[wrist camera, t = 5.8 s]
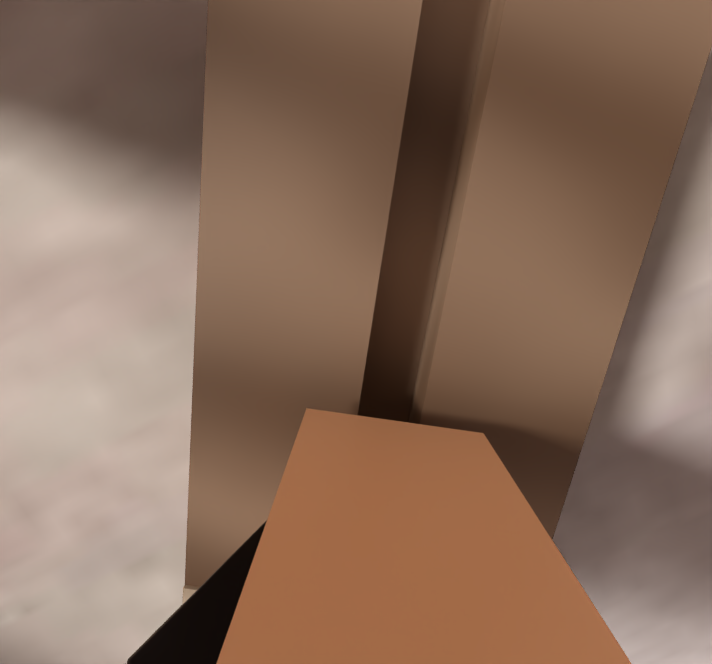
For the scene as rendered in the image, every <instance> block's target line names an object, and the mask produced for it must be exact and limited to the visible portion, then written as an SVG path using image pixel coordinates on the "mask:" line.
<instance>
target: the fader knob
mask: <svg viewBox="0 0 712 664" xmlns="http://www.w3.org/2000/svg"><path fill="white" fill-rule="evenodd" d="M216 664H631V662H630V661H629V659H628V658H627V656H626V655H625V653H624V651H623V650H622V648H621V647H620V645H619V644H618V642H617V640H616V639H615V637H614V636H613V634H612V633H611V631H610V630H609V628H608V626H607V625H606V623H605V622H604V620H603V619H602V617H601V616H600V614H599V612H598V611H597V609H596V608H595V606H594V605H593V603H592V602H591V600H590V598H589V597H588V595H587V594H586V592H585V591H584V589H583V588H582V586H581V584H580V583H579V581H578V580H577V578H576V577H575V575H574V573H573V572H572V570H571V569H570V567H569V566H568V564H567V563H566V561H565V559H564V558H563V556H562V555H561V553H560V552H559V550H558V549H557V547H556V545H555V544H554V542H553V541H552V539H551V538H550V536H549V535H548V533H547V531H546V530H545V528H544V527H543V525H542V524H541V522H540V521H539V519H538V517H537V516H536V514H535V513H534V511H533V510H532V508H531V506H530V505H529V503H528V502H527V500H526V499H525V497H524V496H523V494H522V492H521V491H520V489H519V488H518V486H517V485H516V483H515V482H514V480H513V478H512V477H511V475H510V474H509V472H508V471H507V469H506V468H505V466H504V464H503V463H502V461H501V460H500V458H499V457H498V455H497V454H496V452H495V450H494V449H493V447H492V446H491V444H490V443H489V441H488V439H487V438H486V436H485V435H484V433H479V432H472V431H465V430H457V429H450V428H443V427H436V426H429V425H422V424H415V423H408V422H401V421H394V420H387V419H379V418H372V417H365V416H358V415H351V414H344V413H337V412H330V411H323V410H316V409H309V408H306V411H305V414H304V417H303V420H302V423H301V425H300V428H299V431H298V434H297V437H296V440H295V442H294V445H293V448H292V451H291V454H290V457H289V459H288V462H287V465H286V468H285V471H284V474H283V476H282V479H281V482H280V485H279V488H278V491H277V493H276V496H275V499H274V502H273V505H272V508H271V510H270V513H269V516H268V519H267V522H266V525H265V527H264V530H263V533H262V536H261V539H260V542H259V544H258V547H257V550H256V553H255V556H254V559H253V561H252V564H251V567H250V570H249V573H248V576H247V578H246V581H245V584H244V587H243V590H242V593H241V595H240V598H239V601H238V604H237V607H236V610H235V612H234V615H233V618H232V621H231V624H230V627H229V629H228V632H227V635H226V638H225V641H224V644H223V646H222V649H221V652H220V655H219V658H218V661H217V663H216Z"/></svg>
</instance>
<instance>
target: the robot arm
mask: <svg viewBox="0 0 712 664" xmlns="http://www.w3.org/2000/svg"><path fill="white" fill-rule="evenodd" d="M266 522H267V520H266V521H265V522H264V523H263V524H262V525H261V526H260V527H259V528H258V529H257V530H256V531H255V532H254V533H253V534H252V535H251V536H250V537H249V538H248V539H247V540H246V541H245V542H244V543H243V544H242V545H241V546H240V547H239V548H238V549H237V550H236V551H235V552H234V553H233V554H232V555H231V556H230V557H229V558H228V559H227V560H226V561H225V562H224V563H223V564H222V565H221V566H220V567H219V568H218V569H217V570H216V571H215V572H214V573H213V574H212V575H211V576H210V577H209V578H208V579H207V580H206V581H205V582H204V583H203V584H202V585H201V586H200V587H199V588H198V589H197V590H196V591H195V592H194V594H193V595H192V596H191V597H190V598H189V599H188V600H187V601H186V602H185V603H184V604H183V605H182V606H181V607H180V608H179V609H178V610H177V611H176V612H175V613H174V614H173V615H172V616H171V617H170V618H169V619H168V620H167V621H166V622H165V623H164V624H163V625H162V626H161V627H160V628H159V629H158V630H157V631H156V632H155V633H154V634H153V635H152V636H151V637H150V638H149V639H148V640H147V641H146V642H145V643H144V644H143V645H142V646H141V647H140V648H139V649H138V650H137V651H136V652H135V653H134V654H133V655H132V656H131V657H130V658H129V659H128V661H127V664H216V663H217V661H218V658H219V655H220V652H221V649H222V646H223V644H224V641H225V638H226V635H227V632H228V629H229V627H230V624H231V621H232V618H233V615H234V612H235V610H236V607H237V604H238V601H239V598H240V595H241V593H242V590H243V587H244V584H245V581H246V578H247V576H248V573H249V570H250V567H251V564H252V561H253V559H254V556H255V553H256V550H257V547H258V544H259V542H260V539H261V536H262V533H263V530H264V527H265V525H266Z"/></svg>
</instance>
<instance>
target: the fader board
mask: <svg viewBox="0 0 712 664" xmlns="http://www.w3.org/2000/svg"><path fill="white" fill-rule="evenodd" d="M711 47H712V0H208V11H207V37H206V62H205V87H204V113H203V138H202V163H201V189H200V214H199V239H198V265H197V290H196V315H195V341H194V366H193V392H192V417H191V442H190V468H189V493H188V518H187V544H186V569H185V586H184V588H183V604H184V603H185V602H186V601H187V600H188V599H189V598H190V597H191V596H192V595H193V594H194V592H195V591H196V590H197V589H198V588H199V587H200V586H201V585H202V584H203V583H204V582H205V581H206V580H207V579H208V578H209V577H210V576H211V575H212V574H213V573H214V572H215V571H216V570H217V569H218V568H219V567H220V566H221V565H222V564H223V563H224V562H225V561H226V560H227V559H228V558H229V557H230V556H231V555H232V554H233V553H234V552H235V551H236V550H237V549H238V548H239V547H240V546H241V545H242V544H243V543H244V542H245V541H246V540H247V539H248V538H249V537H250V536H251V535H252V534H253V533H254V532H255V531H256V530H257V529H258V528H259V527H260V526H261V525H262V524H263V523H264V522H265V521H266V520H267V519H268V516H269V513H270V510H271V508H272V505H273V502H274V499H275V496H276V493H277V491H278V488H279V485H280V482H281V479H282V476H283V474H284V471H285V468H286V465H287V462H288V459H289V457H290V454H291V451H292V448H293V445H294V442H295V440H296V437H297V434H298V431H299V428H300V425H301V423H302V420H303V417H304V414H305V411H306V408H309V409H316V410H323V411H330V412H337V413H344V414H351V415H358V416H365V417H372V418H379V419H387V420H394V421H401V422H408V423H415V424H422V425H429V426H436V427H443V428H450V429H457V430H465V431H472V432H479V433H484V435H485V436H486V438H487V439H488V441H489V443H490V444H491V446H492V447H493V449H494V450H495V452H496V454H497V455H498V457H499V458H500V460H501V461H502V463H503V464H504V466H505V468H506V469H507V471H508V472H509V474H510V475H511V477H512V478H513V480H514V482H515V483H516V485H517V486H518V488H519V489H520V491H521V492H522V494H523V496H524V497H525V499H526V500H527V502H528V503H529V505H530V506H531V508H532V510H533V511H534V513H535V514H536V516H537V517H538V519H539V521H540V522H541V524H542V525H543V527H544V528H545V530H546V531H547V533H548V535H549V536H550V538H551V539H553V536H554V532H555V529H556V526H557V523H558V520H559V517H560V514H561V511H562V508H563V505H564V502H565V498H566V495H567V492H568V489H569V486H570V483H571V480H572V477H573V474H574V471H575V468H576V464H577V461H578V458H579V455H580V452H581V449H582V446H583V443H584V440H585V437H586V434H587V430H588V427H589V424H590V421H591V418H592V415H593V412H594V409H595V406H596V403H597V400H598V396H599V393H600V390H601V387H602V384H603V381H604V378H605V375H606V372H607V369H608V366H609V362H610V359H611V356H612V353H613V350H614V347H615V344H616V341H617V338H618V335H619V331H620V328H621V325H622V322H623V319H624V316H625V313H626V310H627V307H628V304H629V301H630V297H631V294H632V291H633V288H634V285H635V282H636V279H637V276H638V273H639V270H640V267H641V263H642V260H643V257H644V254H645V251H646V248H647V245H648V242H649V239H650V236H651V233H652V229H653V226H654V223H655V220H656V217H657V214H658V211H659V208H660V205H661V202H662V199H663V195H664V192H665V189H666V186H667V183H668V180H669V177H670V174H671V171H672V168H673V165H674V161H675V158H676V155H677V152H678V149H679V146H680V143H681V140H682V137H683V134H684V131H685V127H686V124H687V121H688V118H689V115H690V112H691V109H692V106H693V103H694V100H695V97H696V93H697V90H698V87H699V84H700V81H701V78H702V75H703V72H704V69H705V66H706V63H707V59H708V56H709V53H710V50H711Z"/></svg>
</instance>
